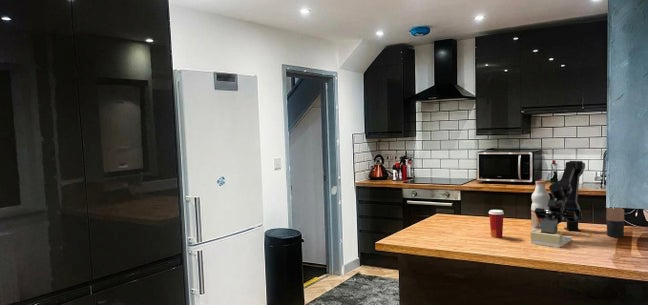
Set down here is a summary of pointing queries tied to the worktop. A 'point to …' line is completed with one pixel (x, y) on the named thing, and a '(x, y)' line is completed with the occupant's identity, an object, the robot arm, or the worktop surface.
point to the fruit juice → (539, 204)
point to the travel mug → (615, 222)
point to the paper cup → (496, 223)
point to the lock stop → (549, 226)
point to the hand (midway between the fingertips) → (551, 228)
